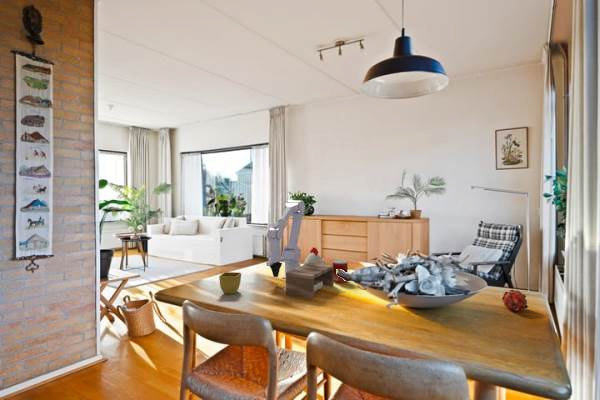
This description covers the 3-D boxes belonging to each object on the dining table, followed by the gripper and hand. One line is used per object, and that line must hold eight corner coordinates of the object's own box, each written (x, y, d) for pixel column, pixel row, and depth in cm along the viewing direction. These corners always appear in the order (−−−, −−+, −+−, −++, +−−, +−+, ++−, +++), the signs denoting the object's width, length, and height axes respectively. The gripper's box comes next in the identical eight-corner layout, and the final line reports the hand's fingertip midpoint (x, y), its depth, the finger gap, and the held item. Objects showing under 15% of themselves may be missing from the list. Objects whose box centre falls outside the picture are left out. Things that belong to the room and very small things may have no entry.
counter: (309, 282, 182) (309, 263, 181) (333, 285, 175) (333, 265, 175) (286, 294, 161) (285, 272, 160) (312, 299, 154) (312, 275, 154)
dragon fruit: (516, 309, 142) (516, 322, 132) (497, 295, 145) (496, 307, 135) (531, 295, 138) (532, 308, 128) (511, 281, 141) (511, 293, 131)
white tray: (300, 283, 179) (300, 272, 179) (322, 287, 173) (322, 275, 173) (284, 291, 165) (284, 279, 165) (307, 295, 159) (307, 282, 159)
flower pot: (242, 290, 169) (241, 272, 169) (237, 295, 160) (236, 276, 160) (224, 289, 170) (224, 272, 170) (219, 295, 161) (218, 276, 161)
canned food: (348, 283, 179) (348, 262, 178) (333, 283, 179) (333, 262, 179) (346, 279, 186) (346, 259, 186) (332, 279, 187) (332, 259, 186)
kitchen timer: (310, 276, 195) (309, 250, 195) (298, 271, 207) (298, 247, 207) (330, 273, 202) (330, 248, 202) (318, 268, 214) (317, 245, 214)
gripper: (276, 248, 187) (276, 272, 187) (261, 253, 174) (261, 279, 175) (287, 249, 184) (287, 274, 184) (272, 254, 171) (273, 280, 171)
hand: (275, 276), depth 179 cm, fingers closed
